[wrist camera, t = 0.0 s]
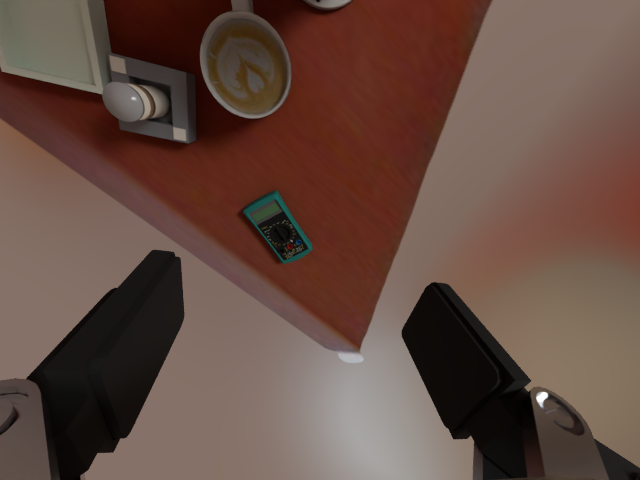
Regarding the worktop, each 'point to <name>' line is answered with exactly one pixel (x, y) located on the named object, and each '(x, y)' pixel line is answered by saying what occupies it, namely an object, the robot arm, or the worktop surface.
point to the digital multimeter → (278, 227)
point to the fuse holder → (174, 81)
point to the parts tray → (56, 42)
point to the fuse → (136, 101)
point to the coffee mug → (245, 62)
